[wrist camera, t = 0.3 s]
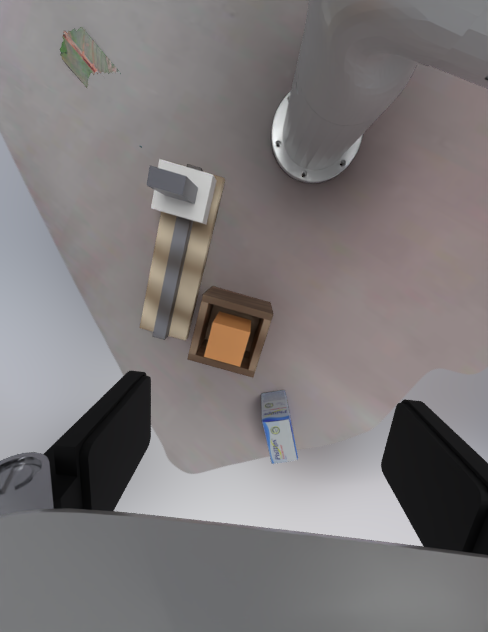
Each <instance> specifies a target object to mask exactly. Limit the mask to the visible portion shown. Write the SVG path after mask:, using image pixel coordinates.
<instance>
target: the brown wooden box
mask: <svg viewBox="0 0 488 632" xmlns="http://www.w3.org/2000/svg"><path fill="white" fill-rule="evenodd" d="M219 311H220V312H224V313H227V314H231V315H234V316H238V317H241V318H245V319H248V320H251V330H250V335H249V339H248V342H247V345H246V349H245V352H244V355H243V359H242V362H241V365H240V367H239V366H235V365H232V364H228V363H224V362H221V361H217V360H214V359H210V358H206V357H204V354H205V351H206V347H207V343H208V339H209V335H210V331H211V328H212V324H213V321H214V319H215V318H216V316H217V314H218V313H219ZM272 317H273V311H272V307H271V303H270V302H267V301H263V300H260V299H256V298H253V297H249V296H246V295H242V294H239V293H235V292H232V291H228V290H225V289H221V288H218V287H214V286H212V287H211V288H210V289H209V290H207V291H206V292H205V293H204V294H203V297H202V301H201V305H200V309H199V313H198V317H197V322H196V326H195V330H194V334H193V338H192V342H191V346H190V350H189V354H188V360H192V361H195V362H199V363H202V364H206V365H210V366H213V367H217V368H221V369H224V370H228V371H231V372H235V373H239V374H242V375H246V376H249V377H253V376H254V373H255V370H256V367H257V364H258V361H259V358H260V354H261V351H262V348H263V345H264V342H265V339H266V336H267V332H268V329H269V326H270V323H271V320H272Z"/></svg>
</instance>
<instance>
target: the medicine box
mask: <svg viewBox="0 0 488 632" xmlns="http://www.w3.org/2000/svg"><path fill="white" fill-rule="evenodd" d="M261 409H262V424H263V428H264V432H265V436H266V441H267V445H268V450H269V454H270V459H271V463H272V464H273V463H282V462H289V461H294V460H298V456H297V450H296V444H295V439H294V433H293V427H292V422H291V417H290V412H289V408H288V403H287V398H286V394H285V390H280V391H273V392H267V393H262V394H261Z"/></svg>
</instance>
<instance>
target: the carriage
mask: <svg viewBox="0 0 488 632" xmlns="http://www.w3.org/2000/svg"><path fill="white" fill-rule="evenodd" d="M216 181H217V180H216V179H215V177H214V175H212V174H209V173H206V172H202V171H199V170H195V169H192V168H189V167H185V166H182V165H178V164H175V163H172V162H168V161H165V160H161V159H160V160H159V166H158V168H157V167H154V166H150V168H149V174H148V180H147V186H149V187H151V188H153V189H154V194H153V200H152V205H151V208H152V209H155V210H158V211H161V212H164V213H168V214H171V215H175V216H178V217H182V218H185V219H188V220H192V221H195V222H199V223H202V224H206V225H207V220H208V216H209V212H210V207H211V203H212V199H213V194H214V190H215V185H216Z"/></svg>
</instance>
